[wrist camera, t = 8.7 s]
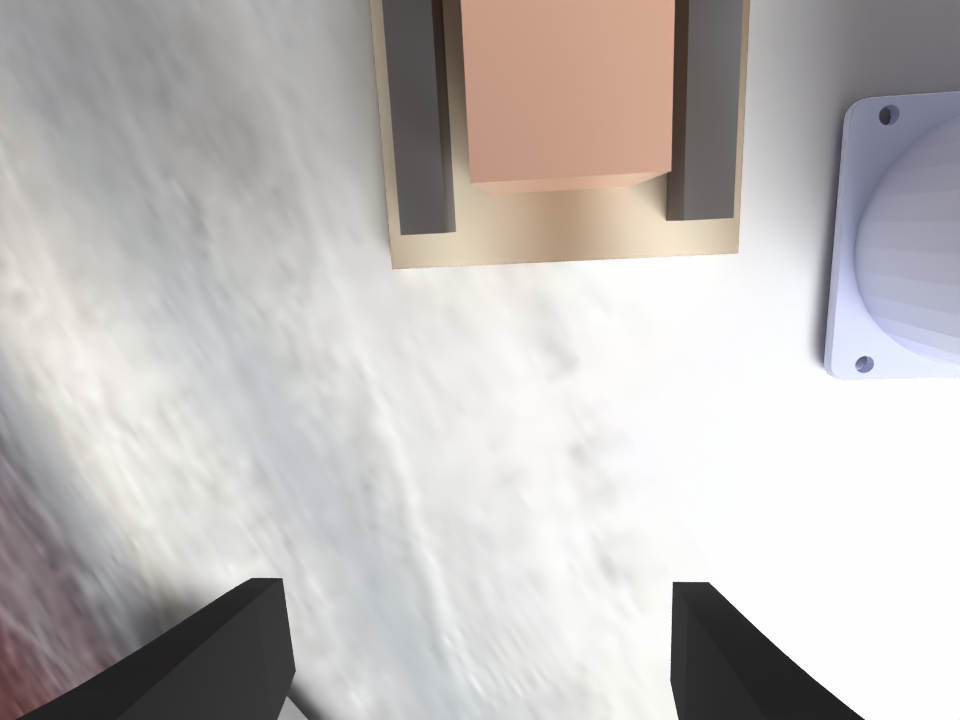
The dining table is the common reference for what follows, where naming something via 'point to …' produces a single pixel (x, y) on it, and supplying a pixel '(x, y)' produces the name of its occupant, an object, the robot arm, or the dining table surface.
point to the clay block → (568, 93)
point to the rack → (566, 213)
